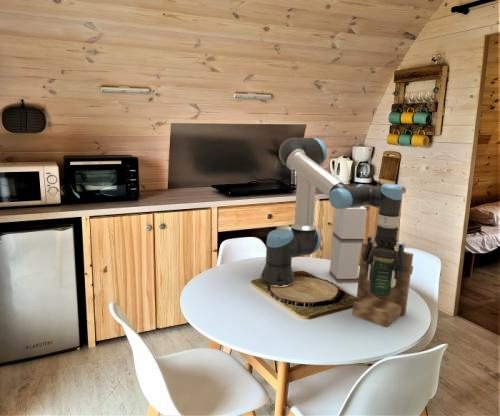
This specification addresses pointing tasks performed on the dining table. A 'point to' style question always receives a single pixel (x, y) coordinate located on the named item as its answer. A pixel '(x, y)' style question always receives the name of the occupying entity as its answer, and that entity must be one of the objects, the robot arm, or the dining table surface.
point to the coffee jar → (382, 271)
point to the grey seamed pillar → (347, 243)
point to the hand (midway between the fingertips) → (381, 282)
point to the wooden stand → (385, 306)
